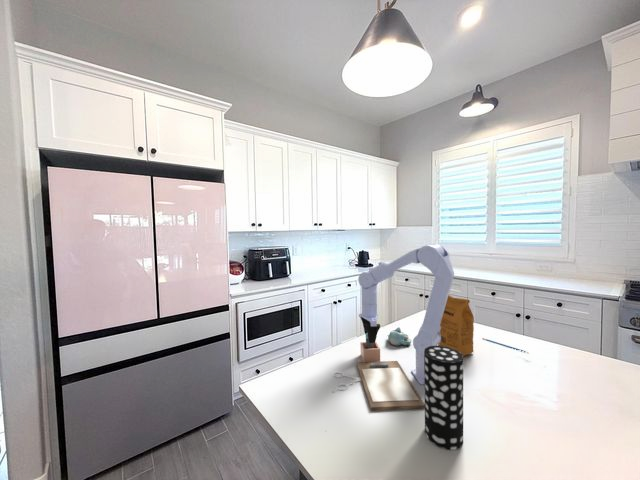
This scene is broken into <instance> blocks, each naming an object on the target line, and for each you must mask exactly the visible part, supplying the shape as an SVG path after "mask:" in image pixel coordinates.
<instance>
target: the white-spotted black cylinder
mask: <svg viewBox="0 0 640 480" xmlns="http://www.w3.org/2000/svg"><path fill="white" fill-rule="evenodd" d="M423 385H424V404H425V409H424V433H425V436H426V438H427V439H428V440H429V441H430V442H431V443H432V444H434V445H435V446H436V447H438V448H441V449H444V450H448V451H454V450H458V449H460V448H462V447H463V444H464V356H463V355H462V354H461V353H460V352H459V351H457V350H455V349H452V348H449V347H445V346H429V347H427V348H425V350H424V384H423Z"/></svg>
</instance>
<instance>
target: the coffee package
mask: <svg viewBox="0 0 640 480" xmlns="http://www.w3.org/2000/svg"><path fill="white" fill-rule="evenodd" d="M469 303H471V302H470V300H469V299H468V298H458V297H453V296H451V295H450V294H449V295H448V299H447V302H446V306H445V309H444V313H443V316H442V320H441V323H440V327H441V330H440V335H441V341H440V343H439V344H438V346H445V347H449V348H452V349H455V350H457V351H459V352H460V353H461V354H462V355H463V357H465V356H467V355H470V354H472V353H474V330H475V329H474V322H475V317H474V315H473V312H472V309H471V307H470V305H469Z"/></svg>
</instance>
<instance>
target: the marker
mask: <svg viewBox="0 0 640 480" xmlns="http://www.w3.org/2000/svg"><path fill="white" fill-rule="evenodd" d="M365 342H366V349H373V343H369V340H368V334H367V333H366V334H365Z"/></svg>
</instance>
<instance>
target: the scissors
mask: <svg viewBox="0 0 640 480" xmlns="http://www.w3.org/2000/svg"><path fill="white" fill-rule="evenodd" d="M337 374H340V375H337ZM332 375H333V377H334V378H337V379H342V378H349V379H353V381H352V382H350V383H339V384H338V385H337V386H336V389H334V390H333V389H332V393H335V392H337V391H340V392H344V391H347V390H348V389H349V387H350V386H353V385H354V384H355V383H359V382H360V383H361V382H362V380H361V377H360V376H359V377H356V376H351V375H346V374H345V373H343V372H341V371H340V372H339V371H336V372H334V373H333V374H332ZM354 379H355V380H354ZM341 386H343V387H344V388H339V387H341Z"/></svg>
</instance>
